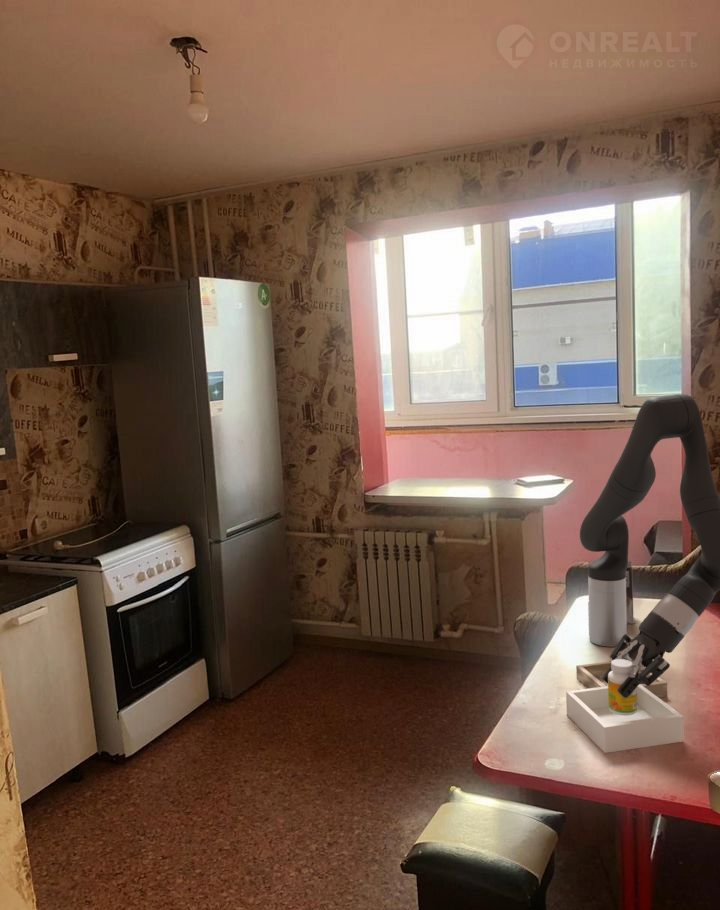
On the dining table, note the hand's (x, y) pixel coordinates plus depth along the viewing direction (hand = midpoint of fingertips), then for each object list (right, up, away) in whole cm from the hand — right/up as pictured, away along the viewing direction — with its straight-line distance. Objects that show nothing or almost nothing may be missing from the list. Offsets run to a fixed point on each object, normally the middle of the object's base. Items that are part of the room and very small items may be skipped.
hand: (613, 688), depth 144 cm
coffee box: (+22, -1, +62) cm, 66 cm away
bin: (+2, -8, +1) cm, 9 cm away
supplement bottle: (+2, -5, +1) cm, 5 cm away
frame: (+8, -6, +19) cm, 22 cm away
